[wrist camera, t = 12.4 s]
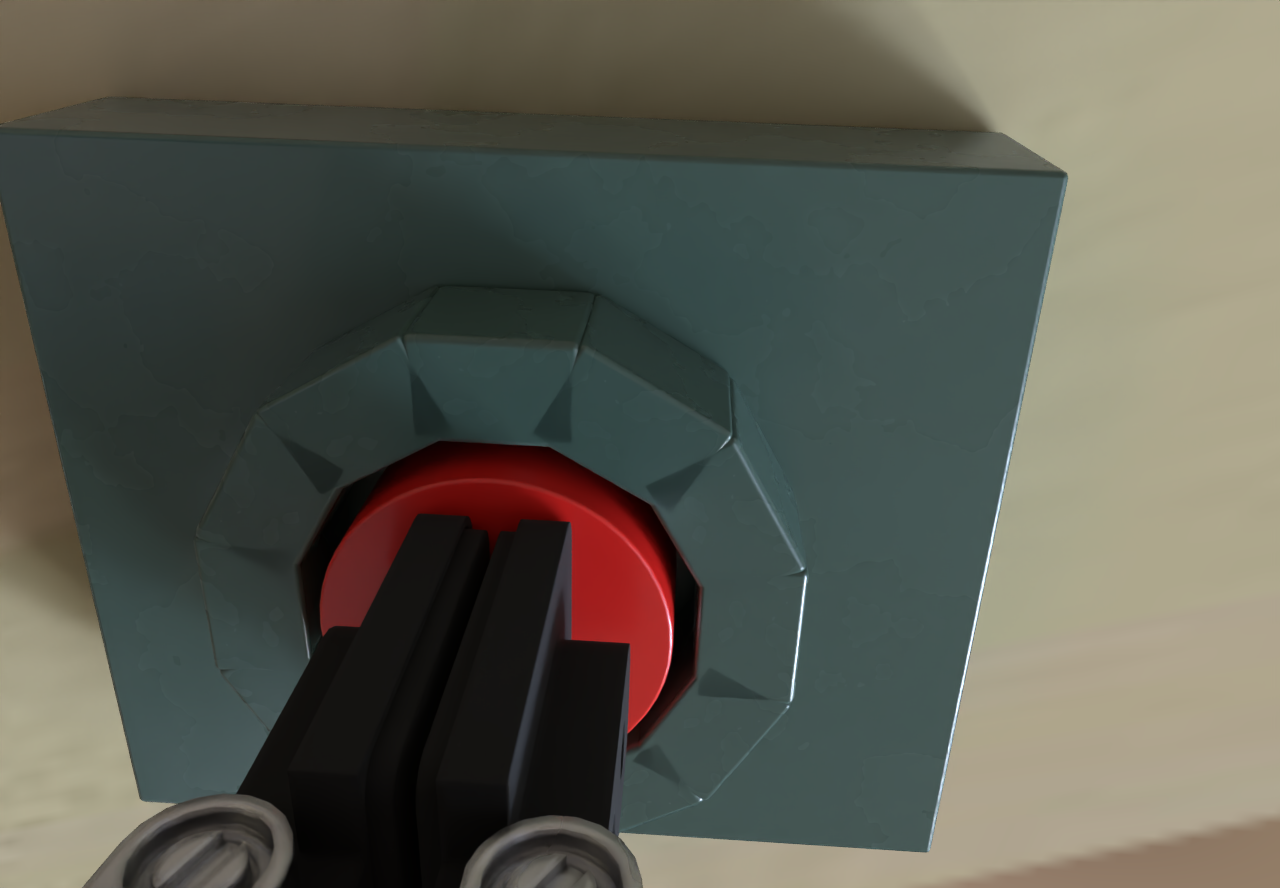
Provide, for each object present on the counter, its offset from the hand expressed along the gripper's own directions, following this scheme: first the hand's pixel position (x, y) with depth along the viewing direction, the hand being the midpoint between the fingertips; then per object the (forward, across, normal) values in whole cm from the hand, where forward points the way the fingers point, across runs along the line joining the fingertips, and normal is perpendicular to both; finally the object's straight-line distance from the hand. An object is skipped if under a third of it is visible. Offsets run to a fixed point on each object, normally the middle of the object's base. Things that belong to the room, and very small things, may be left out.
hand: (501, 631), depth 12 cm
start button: (+2, 0, 0) cm, 2 cm away
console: (+5, 0, 0) cm, 5 cm away
